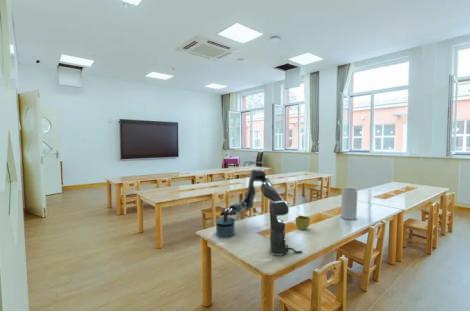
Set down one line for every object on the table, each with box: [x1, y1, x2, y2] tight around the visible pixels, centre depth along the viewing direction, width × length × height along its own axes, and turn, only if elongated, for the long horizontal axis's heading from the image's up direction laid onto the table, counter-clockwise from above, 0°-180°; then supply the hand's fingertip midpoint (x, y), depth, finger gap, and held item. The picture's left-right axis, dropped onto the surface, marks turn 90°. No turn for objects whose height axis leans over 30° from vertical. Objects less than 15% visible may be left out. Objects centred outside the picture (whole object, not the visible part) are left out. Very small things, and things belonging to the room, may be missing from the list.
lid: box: [215, 211, 236, 225], centre depth 186 cm, size 14×14×8 cm
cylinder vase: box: [340, 187, 358, 221], centre depth 221 cm, size 12×12×25 cm
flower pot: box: [295, 215, 311, 231], centre depth 197 cm, size 9×9×9 cm
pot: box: [215, 222, 236, 239], centre depth 187 cm, size 13×13×8 cm
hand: (222, 214), depth 184 cm, fingers closed on lid, 2 cm apart
